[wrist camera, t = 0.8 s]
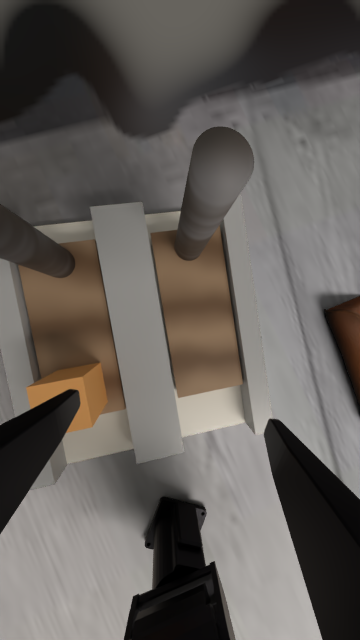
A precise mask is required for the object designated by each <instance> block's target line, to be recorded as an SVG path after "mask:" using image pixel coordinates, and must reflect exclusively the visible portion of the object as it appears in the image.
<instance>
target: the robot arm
mask: <svg viewBox="0 0 360 640" xmlns="http://www.w3.org/2000/svg"><path fill="white" fill-rule="evenodd" d="M80 404H81V402H80V394H79V391H78V390H75V389H68V390H66V391H64V392H62V393H60V394H59V395H57V396H55V397H53V398H51V399H49V400H47V401H45V402H43V403H41V404H40V405H38V406H36V407H34V408H32V409H30V410H28V411H26V412H24V413H22V414H21V415H19V416H17V417H15V418H13V419H11V420H9V421H7V422H5V423H3V424H2V425H0V534H1V532H2V531H3V529H4V528H5V526H6V525H7V523H8V522H9V520H10V519H11V517H12V516H13V514H14V512H15V511H16V509H17V508H18V506H19V505H20V503H21V502H22V500H23V499H24V497H25V496H26V494H27V493H28V491H29V490H30V488H31V487H32V485H33V484H34V482H35V481H36V479H37V478H38V476H39V474H40V473H41V471H42V470H43V468H44V467H45V465H46V464H47V462H48V461H49V459H50V458H51V456H52V455H53V453H54V452H55V450H56V449H57V447H58V446H59V444H60V442H61V441H62V439H63V437H64V435H65V434H66V432H67V430H68V428H69V426H70V424H71V423H72V421H73V419H74V417H75V415H76V413H77V411H78V410H79V408H80ZM264 438H265V442H266V447H267V452H268V457H269V461H270V466H271V471H272V475H273V479H274V482H275V486H276V489H277V492H278V495H279V499H280V502H281V505H282V509H283V512H284V515H285V518H286V522H287V525H288V528H289V531H290V535H291V538H292V541H293V544H294V548H295V551H296V554H297V558H298V561H299V564H300V567H301V571H302V574H303V577H304V580H305V584H306V587H307V590H308V593H309V597H310V600H311V603H312V607H313V610H314V613H315V616H316V620H317V623H318V626H319V629H320V633H321V636H322V639H323V640H360V499H359V498H358V497H357V496H356V495H355V494H354V493H353V492H352V491H351V490H350V489H349V488H348V487H347V486H346V485H345V484H344V483H343V482H342V481H341V480H340V479H339V478H338V477H337V476H336V475H335V474H334V473H333V472H332V471H330V470H329V469H328V468H327V467H326V466H325V465H324V464H323V463H322V462H321V461H320V460H319V459H318V458H317V457H316V456H315V455H314V454H313V453H312V452H311V451H310V450H309V449H308V448H307V447H306V446H305V445H304V444H303V443H302V442H301V441H300V440H299V439H298V438H297V437H296V436H295V435H294V434H293V433H292V432H291V431H290V430H289V429H288V428H287V427H286V426H285V425H284V424H283V423H282V422H281V421H280V420H278V419H271V418H270V419H269V420H268V422H267V425H266V427H265V430H264ZM163 502H164V503H163ZM206 514H207V513H206V509H205V507H202V506H198V505H194V504H190V503H186V502H182V501H178V500H174V499H170V498H166V497H162V498H161V499H160V502H159V504H158V507H157V510H156V512H155V515H154V518H153V520H152V523H151V526H150V528H149V531H148V534H147V536H146V539H145V547H146V548H149V549H154V551H153V583H152V590H150V591H148V592H145V593H143V594H141V595H139V594H137V595H135V596H133V599H132V604H131V609H130V612H129V617H128V622H127V627H126V632H125V636H124V640H235V635H234V631H233V627H232V623H231V619H230V614H229V610H228V606H227V602H226V598H225V595H224V591H223V588H222V584H221V581H220V578H219V574H218V571H217V568H216V564H215V561H213V562H211V563H210V565H208V566H206V564H205V558H204V553H203V547H202V539H201V533H200V530H201V528H202V525H203V522H204V520H205V517H206Z"/></svg>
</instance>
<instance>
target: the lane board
mask: <svg viewBox="0 0 360 640" xmlns="http://www.w3.org/2000/svg"><path fill="white" fill-rule="evenodd" d="M90 210H91V216H92V220H90V221H81V222H71V223H62V224H52V225H43V226H33V227H35V228H36V229H37V230H39V231H40V232H42V233H43V234H45V235H46V236H48V237H49V238H51V239H52V240H53V241H55V242H56V243H58V244H59V243H67V242H76V241H84V240H93V239H95V240H96V243H97V249H98V254H99V260H100V265H101V271H102V276H103V282H104V287H105V293H106V298H107V304H108V309H109V315H110V320H111V326H112V331H113V337H114V342H115V348H116V353H117V359H118V364H119V370H120V375H121V381H122V386H123V392H124V397H125V403H126V409H124V410H120V411H115V412H110V413H106V414H101V415H99V417H98V419H97V420H96V422H95V424H94V425H93V427H91V428H87V429H82V430H78V431H73V432H68V433H66V434H65V435H64V437H63V439H62V441H61V442H60V444H59V446H58V447H57V449H56V450H55V452H54V453H53V455H52V456H51V458H50V459H49V461H48V462H47V464H46V465H45V467H44V468H43V470H42V471H41V473H40V474H39V476H38V478H37V479H36V481H35V482H34V484H33V485H32V487H31V488H30V489H31V490H33V489H37V488H42V487H46V486H50V485H54V484H55V483H56V482H57V480H58V478H59V477H60V475H61V474H62V472H63V470H64V469H65V467H66V466H67V464H71V463H75V462H80V461H84V460H88V459H92V458H97V457H101V456H105V455H109V454H114V453H118V452H122V451H126V450H131V449H134V452H135V458H136V463H137V464H140V463H144V462H148V461H152V460H156V459H160V458H164V457H168V456H172V455H176V454H180V453H184V447H183V441H182V437H186V436H190V435H194V434H198V433H203V432H207V431H211V430H215V429H220V428H224V427H228V426H232V425H237V424H241V423H245V422H246V424H247V425H248V426H249V427H250V429H251V430H252V431H253V432H254V434H255V435H258V434H262V433H264V430H265V427H266V425H267V422H268V420H269V419H270V418H271V419H273V417H272V410H271V403H270V396H269V389H268V382H267V375H266V368H265V361H264V354H263V347H262V340H261V332H260V325H259V318H258V311H257V304H256V297H255V290H254V283H253V276H252V269H251V262H250V255H249V248H248V241H247V233H246V226H245V219H244V212H243V205H242V198H241V193H240V194H239V196H238V197H237V199H236V200H235V202H234V203H233V205H232V207H231V208H230V210H229V211H228V213H227V214H226V216H225V217H224V219H223V220H222V222H221V223H220V231H221V238H222V245H223V252H224V258H225V265H226V272H227V279H228V285H229V292H230V299H231V306H232V312H233V319H234V326H235V332H236V339H237V346H238V353H239V359H240V366H241V373H242V380H243V384H242V385H237V386H233V387H228V388H223V389H219V390H214V391H209V392H204V393H200V394H195V395H190V396H186V397H181V398H178V396H177V390H176V384H175V378H174V372H173V367H172V361H171V355H170V349H169V343H168V337H167V331H166V325H165V319H164V313H163V307H162V301H161V295H160V289H159V283H158V277H157V271H156V265H155V259H154V253H153V247H152V241H151V234H150V233H154V232H162V231H171V230H177V229H178V223H179V218H180V213H181V211H176V212H166V213H157V214H147V215H145V214H144V208H143V202H133V203H123V204H113V205H103V206H93V207H90ZM0 349H1V354H2V358H3V363H4V368H5V372H6V377H7V382H8V386H9V391H10V396H11V401H12V405H13V410H14V415H15V417H17V416H19V415H21V414H22V413H24V412H26V411H28V410H30V404H29V399H28V395H27V390H26V387H28V386H29V385H31V384H33V383H35V382H37V381H39V380H41V375H40V370H39V365H38V360H37V355H36V350H35V345H34V340H33V335H32V330H31V326H30V321H29V316H28V311H27V306H26V301H25V296H24V291H23V286H22V281H21V277H20V272H19V267H18V264H15V263H13V262H10V261H7V260H4V259H1V258H0Z"/></svg>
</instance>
